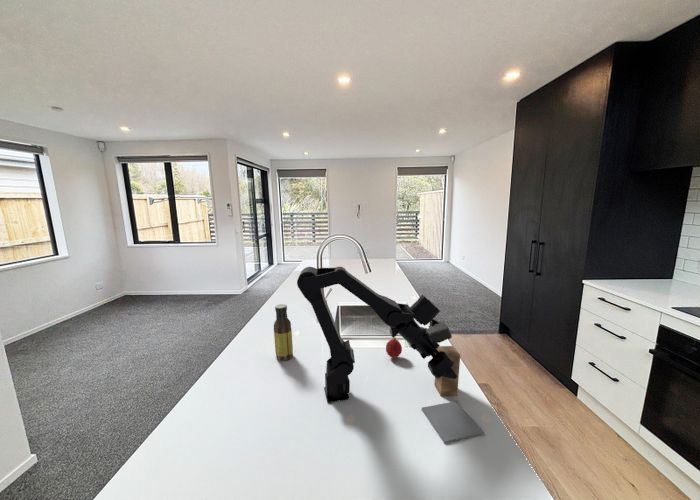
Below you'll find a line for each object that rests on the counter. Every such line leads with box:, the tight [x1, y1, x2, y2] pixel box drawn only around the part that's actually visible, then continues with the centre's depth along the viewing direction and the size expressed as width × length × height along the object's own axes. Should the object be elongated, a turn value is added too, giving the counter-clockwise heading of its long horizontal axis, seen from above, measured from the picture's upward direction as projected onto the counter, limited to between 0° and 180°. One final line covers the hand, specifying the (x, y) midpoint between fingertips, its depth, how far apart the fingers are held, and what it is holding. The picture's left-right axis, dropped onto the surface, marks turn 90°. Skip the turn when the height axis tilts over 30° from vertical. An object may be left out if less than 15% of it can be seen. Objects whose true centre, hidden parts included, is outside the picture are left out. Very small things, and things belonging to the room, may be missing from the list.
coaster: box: [421, 400, 486, 445], centre depth 70 cm, size 11×11×1 cm
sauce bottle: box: [273, 303, 294, 362], centre depth 98 cm, size 6×6×20 cm
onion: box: [385, 336, 403, 359], centre depth 98 cm, size 6×6×8 cm
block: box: [433, 345, 461, 397], centre depth 81 cm, size 5×5×13 cm
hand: (449, 368), depth 81 cm, fingers open, 9 cm apart
